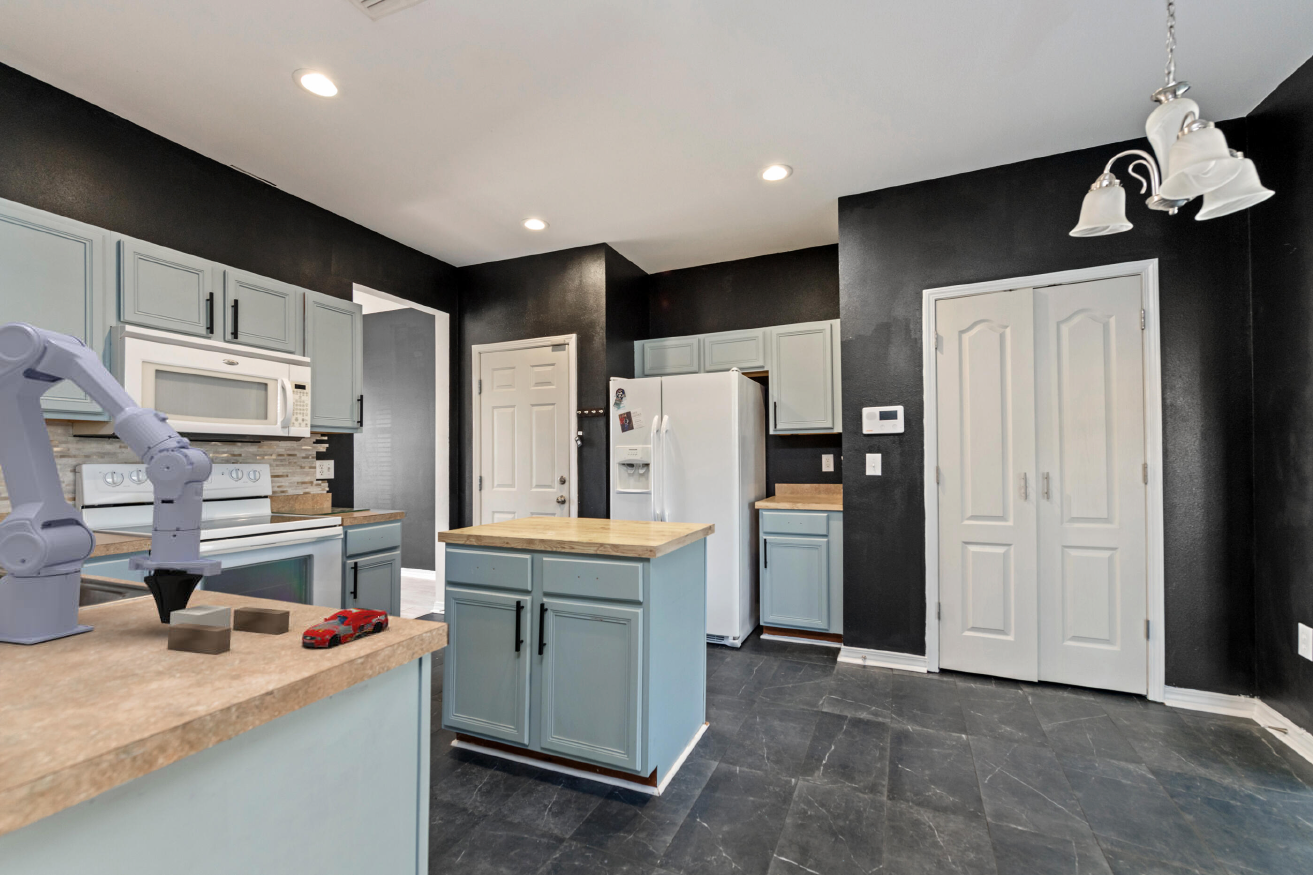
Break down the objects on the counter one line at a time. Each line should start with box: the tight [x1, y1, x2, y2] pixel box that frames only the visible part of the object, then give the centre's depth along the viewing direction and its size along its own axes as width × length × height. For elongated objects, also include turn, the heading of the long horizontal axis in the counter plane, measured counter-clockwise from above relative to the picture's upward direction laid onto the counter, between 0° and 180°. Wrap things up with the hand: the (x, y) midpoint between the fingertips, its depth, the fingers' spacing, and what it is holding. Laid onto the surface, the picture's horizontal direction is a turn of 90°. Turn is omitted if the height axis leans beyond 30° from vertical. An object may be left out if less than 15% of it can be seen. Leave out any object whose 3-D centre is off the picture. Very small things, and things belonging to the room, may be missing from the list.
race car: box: [301, 607, 389, 649], centre depth 90 cm, size 13×5×4 cm, turn 158°
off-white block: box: [169, 604, 232, 628], centre depth 89 cm, size 5×5×4 cm
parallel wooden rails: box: [166, 606, 290, 655], centre depth 88 cm, size 8×12×3 cm, turn 168°
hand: (171, 621), depth 90 cm, fingers closed
